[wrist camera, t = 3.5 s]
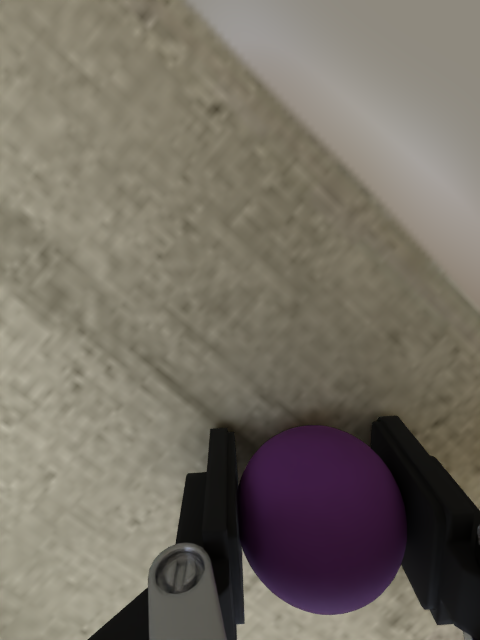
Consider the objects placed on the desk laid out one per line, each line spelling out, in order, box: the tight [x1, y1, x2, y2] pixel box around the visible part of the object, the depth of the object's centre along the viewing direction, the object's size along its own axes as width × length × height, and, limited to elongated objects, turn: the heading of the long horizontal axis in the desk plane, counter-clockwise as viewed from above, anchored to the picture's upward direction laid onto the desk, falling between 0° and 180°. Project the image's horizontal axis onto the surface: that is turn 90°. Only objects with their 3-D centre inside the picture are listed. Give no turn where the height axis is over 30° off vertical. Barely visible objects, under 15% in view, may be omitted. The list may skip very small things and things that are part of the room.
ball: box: [237, 425, 407, 615], centre depth 10 cm, size 4×4×4 cm
